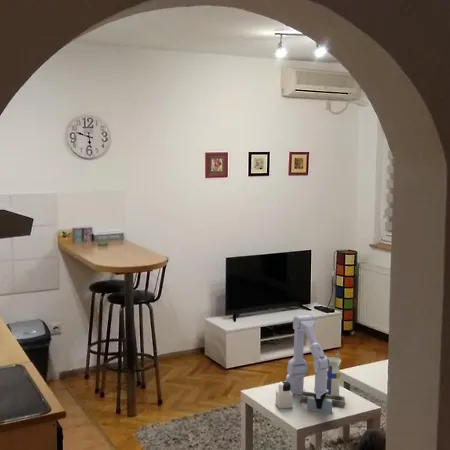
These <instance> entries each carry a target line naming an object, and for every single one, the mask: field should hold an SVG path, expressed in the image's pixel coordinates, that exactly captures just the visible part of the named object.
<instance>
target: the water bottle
mask: <svg viewBox="0 0 450 450" xmlns="http://www.w3.org/2000/svg"><path fill="white" fill-rule="evenodd" d="M334 354H335V356H336V357H334V356H331V357H328V359H329V363H330V365H329V368H327V380H326V390H328V392H327V393H326V394H327V395H335V396H340V378H341V371H340V368H339V367H340V366H342V359H341V358H340V355H341V353H339V352H338V351H337V353H334Z"/></svg>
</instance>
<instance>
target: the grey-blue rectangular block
mask: <svg viewBox="0 0 450 450" xmlns="http://www.w3.org/2000/svg"><path fill="white" fill-rule="evenodd" d="M306 410H307V411H312V412H313V411H314V412H319V413H320V412H321V413H326V414H332V412H333V406H332V399H325V398H324V400H323V403H322V408H321V409H317V407H316V401H315V399H314V397H310V396H308V398H307V403H306Z"/></svg>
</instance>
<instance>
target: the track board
mask: <svg viewBox="0 0 450 450" xmlns="http://www.w3.org/2000/svg"><path fill="white" fill-rule="evenodd" d="M314 394H315V392H310V391H302V393H301V395H300V397H299V403H305V404H307V398H308V396H310V397H314ZM325 399H332V408H333V407H334V408H342V409H343V408H344V405H345V401H346V400H345V396H341V395H339V396H335V395H327V394H326V395H325Z"/></svg>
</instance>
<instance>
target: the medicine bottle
mask: <svg viewBox="0 0 450 450" xmlns="http://www.w3.org/2000/svg"><path fill="white" fill-rule="evenodd" d="M290 389H291V384H290V383H289V382H286V380H283V381H280V382H279V383H278V389H275V405H276V406H277V407H278V408H279V409H293V407H294V406H293V404H294V403H293V401H294V394H292V393H291V391H290Z"/></svg>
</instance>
